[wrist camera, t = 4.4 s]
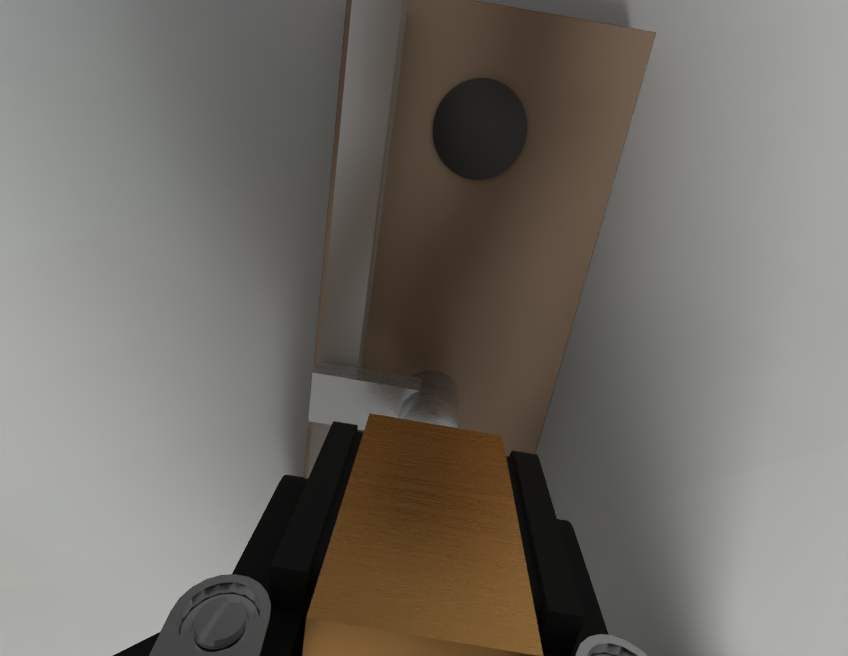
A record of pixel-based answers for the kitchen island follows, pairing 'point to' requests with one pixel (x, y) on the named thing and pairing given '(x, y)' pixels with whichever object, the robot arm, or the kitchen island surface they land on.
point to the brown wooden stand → (470, 197)
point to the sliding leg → (418, 528)
